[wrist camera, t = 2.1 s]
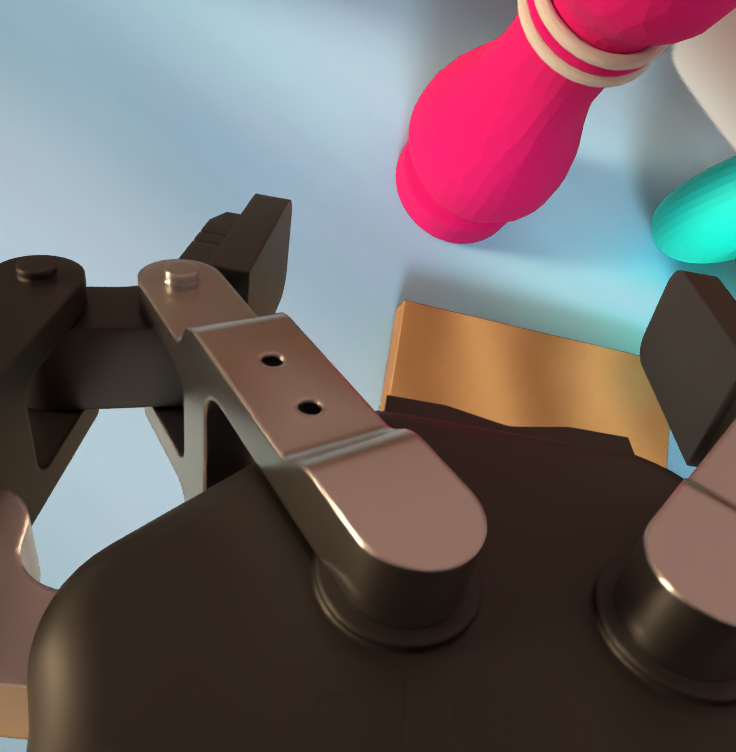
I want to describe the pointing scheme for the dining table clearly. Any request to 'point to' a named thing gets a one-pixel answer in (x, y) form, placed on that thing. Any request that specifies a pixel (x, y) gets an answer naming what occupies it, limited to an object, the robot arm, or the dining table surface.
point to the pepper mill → (527, 107)
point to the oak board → (523, 377)
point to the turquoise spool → (699, 217)
